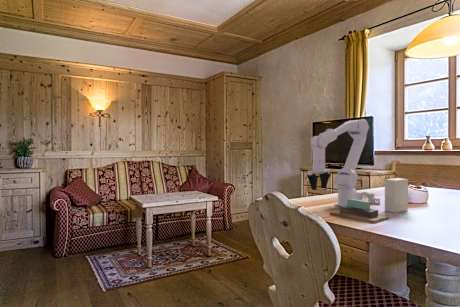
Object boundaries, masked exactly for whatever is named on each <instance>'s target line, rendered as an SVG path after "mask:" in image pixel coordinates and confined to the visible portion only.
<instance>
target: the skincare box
mask: <svg viewBox="0 0 460 307" xmlns="http://www.w3.org/2000/svg"><path fill="white" fill-rule="evenodd" d="M408 189H409V179H407V178H401V177H395V178H394V177H393V178H385V179H384V211H385V212H390V213H393V214H394V213H395V214H396V213H401V212H408V210H409V209H408V207H409V203H408V202H409V200H408V199H409V196H408V195H409V191H408Z"/></svg>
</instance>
